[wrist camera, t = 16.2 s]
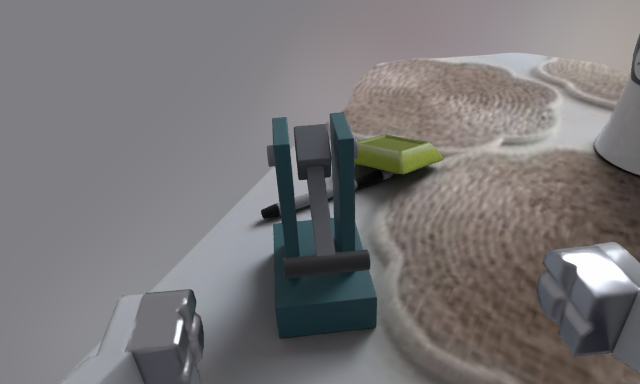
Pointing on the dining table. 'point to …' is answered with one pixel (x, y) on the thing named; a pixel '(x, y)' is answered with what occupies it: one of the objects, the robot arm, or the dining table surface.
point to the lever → (319, 210)
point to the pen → (328, 192)
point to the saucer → (396, 154)
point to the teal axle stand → (298, 240)
